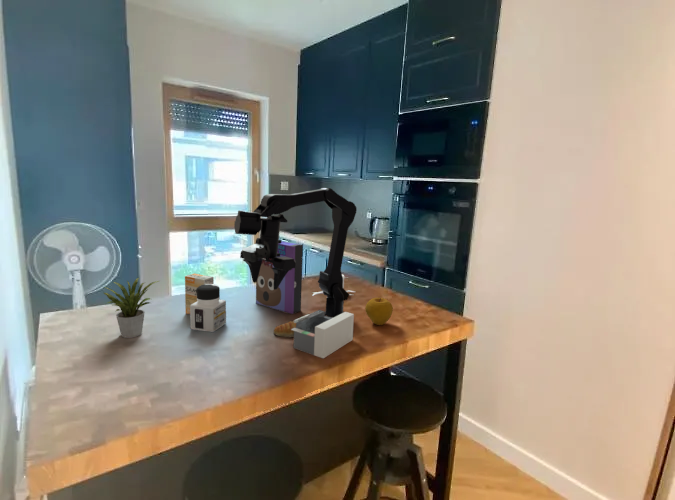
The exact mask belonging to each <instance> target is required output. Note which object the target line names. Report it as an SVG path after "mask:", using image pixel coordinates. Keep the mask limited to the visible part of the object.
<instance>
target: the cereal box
mask: <svg viewBox="0 0 675 500" xmlns="http://www.w3.org/2000/svg"><path fill="white" fill-rule="evenodd" d="M303 249H304V245H303V244H301V243H300V244H299V243H293V242H288V241H281V243H280V244H278V252H277V253H280V257H289V258H293V259H294V260H295V261H296V264H295V268H292V270H289V271H288V273H287V274H286V275H285V277H284V278H283V280H282V281H281V283H280V285H279V286H278V288H277V289H274V271H273V270H272V268H275V267H274V266H273V263H271V262H267V261H264V260H262V264H261V268H260V272H259V275H258V279H257V282H255V304H256V305H259V306H263V307H265V308H270V309H273V310H276V311H280V312H283V313H286V314H289V315H294V314H296V313H300V312H301V311H302V286H303V285H302V284H303V282H302V281H303V279H302V278H303ZM264 258H265V257H264Z"/></svg>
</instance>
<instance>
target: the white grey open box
mask: <svg viewBox="0 0 675 500" xmlns="http://www.w3.org/2000/svg"><path fill="white" fill-rule="evenodd" d="M354 318H355V313H351V312H348V311H344V313H342V314H340V315H338V316H336V317H334V318H333V317H330V316H326V315H324V323H322V324H320V325H318V326H316V327H315V334H313V333H310V332H307V331H304V330H301V329H297V328H293V329H291V330H293V331H294V337H293V349H295V350H298V351H301V352H304V353H306V354H308V355H309V354H310V355H312V356H315V357H317V358H321V359H325V358H326V357H328V356H330V355H332V353H335V352H336V351H337V350H339V349H340V348H342V347H344V346H345V345H347V344H348V343H350V342H351V341H353V339H354Z"/></svg>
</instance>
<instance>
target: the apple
mask: <svg viewBox="0 0 675 500" xmlns="http://www.w3.org/2000/svg"><path fill="white" fill-rule="evenodd" d="M364 309H365V313H366V315H367V317H368V318H369V319H370V320H371V322H372V323H373V324H374V325H377V326H383V325H385V324H386V323H387V322H388V321H389V320H390V318H391V317H392V314H393V309H394V307H393V304H392V302H391V301H389V300H388V299H386V298H384V297H373V298H371V299H370V300H368V301H367V303H366V305H365V307H364Z"/></svg>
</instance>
